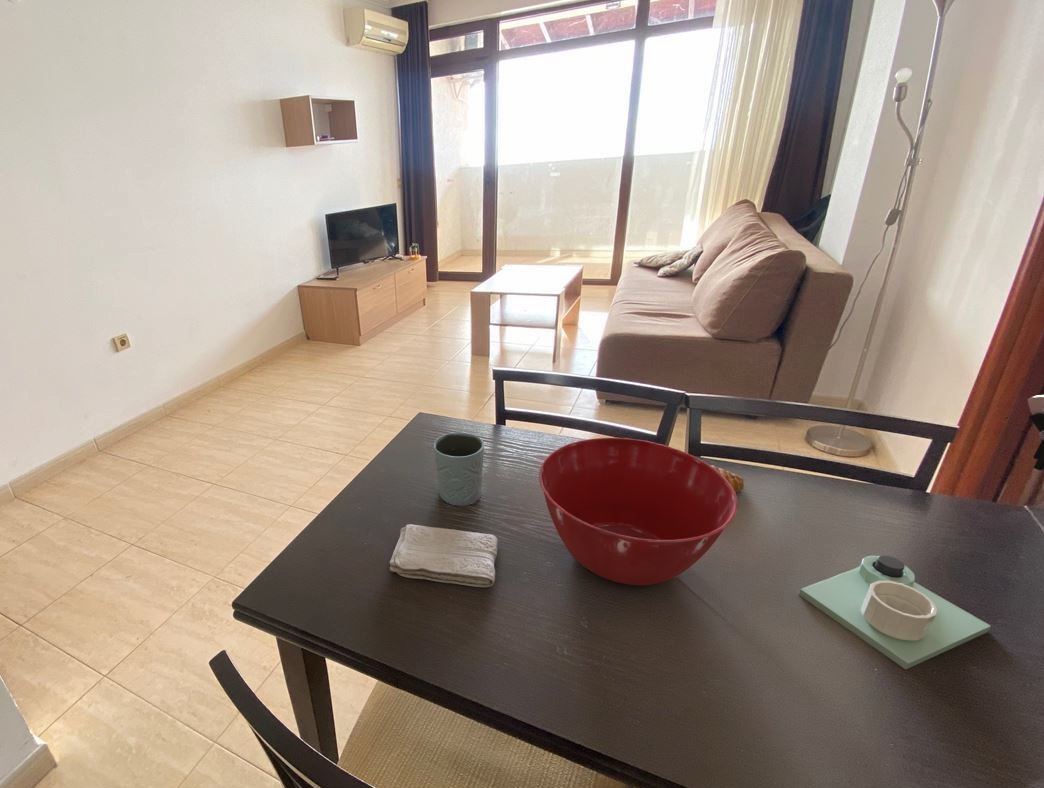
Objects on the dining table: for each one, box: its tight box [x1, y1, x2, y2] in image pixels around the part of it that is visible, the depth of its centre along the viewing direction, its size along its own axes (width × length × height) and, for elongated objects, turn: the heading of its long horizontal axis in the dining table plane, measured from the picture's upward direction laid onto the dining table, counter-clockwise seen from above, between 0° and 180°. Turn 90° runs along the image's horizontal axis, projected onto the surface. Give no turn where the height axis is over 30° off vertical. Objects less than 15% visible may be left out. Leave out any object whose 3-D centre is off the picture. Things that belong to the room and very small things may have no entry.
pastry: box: [710, 464, 745, 493], centre depth 107 cm, size 9×7×4 cm
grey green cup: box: [433, 432, 485, 506], centre depth 110 cm, size 10×10×12 cm
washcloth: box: [389, 523, 499, 588], centre depth 94 cm, size 12×18×3 cm, turn 75°
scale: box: [798, 555, 992, 670], centre depth 77 cm, size 16×14×3 cm
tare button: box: [874, 554, 906, 578], centre depth 81 cm, size 3×3×2 cm
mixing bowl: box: [538, 437, 739, 586], centre depth 89 cm, size 28×28×15 cm
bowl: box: [861, 581, 937, 640], centre depth 73 cm, size 7×7×5 cm
